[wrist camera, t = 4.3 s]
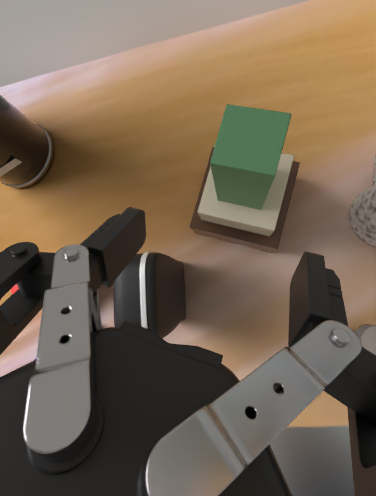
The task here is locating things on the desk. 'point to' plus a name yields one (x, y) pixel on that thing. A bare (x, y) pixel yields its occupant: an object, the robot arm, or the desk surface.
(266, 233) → the cream block
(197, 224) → the walnut base
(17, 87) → the desk surface
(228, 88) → the desk surface
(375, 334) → the lightbulb
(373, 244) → the mug
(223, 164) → the green block
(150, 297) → the battery charger
